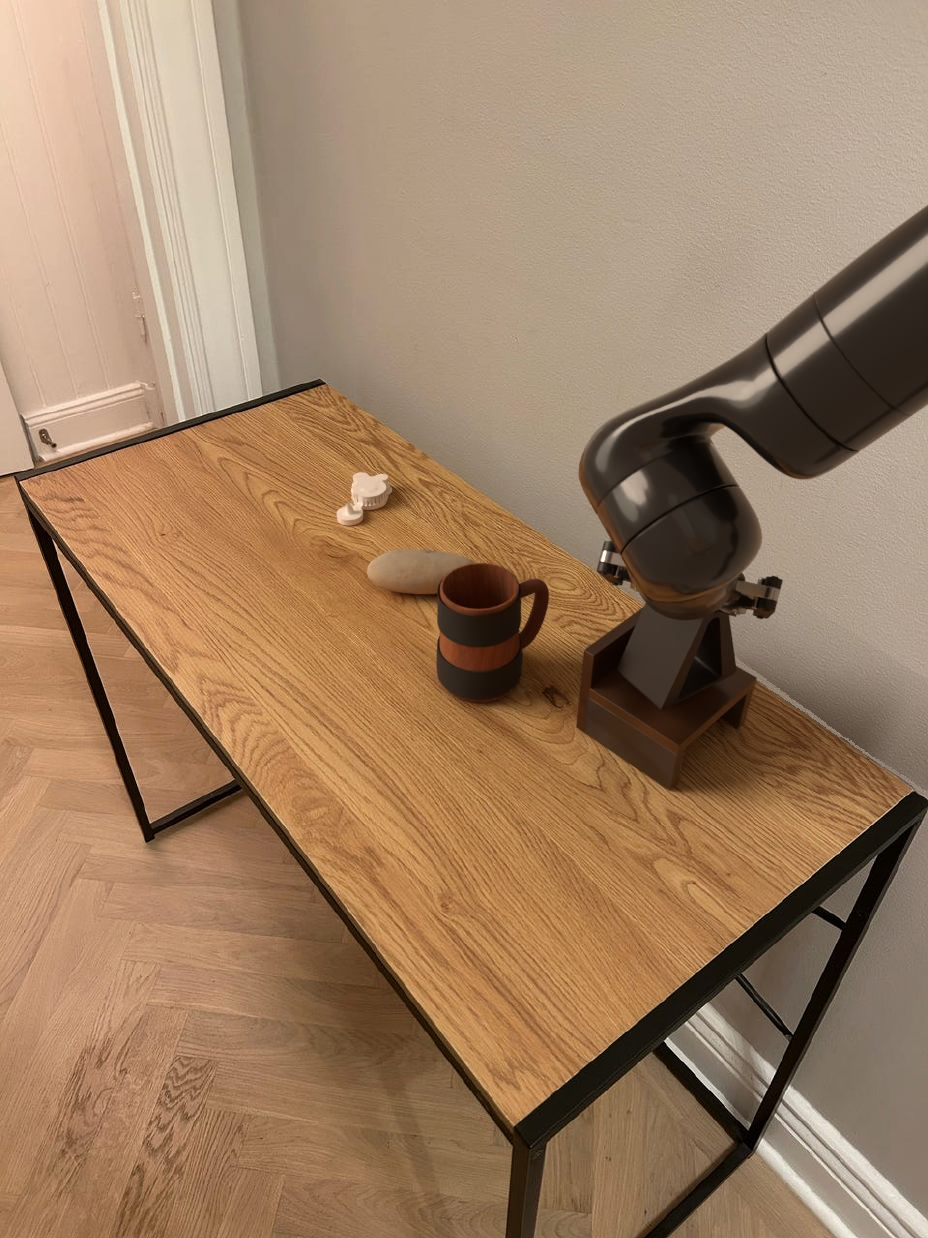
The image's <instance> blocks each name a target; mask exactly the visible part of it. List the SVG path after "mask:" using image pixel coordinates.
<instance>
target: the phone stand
mask: <svg viewBox="0 0 928 1238" xmlns="http://www.w3.org/2000/svg"><path fill="white" fill-rule="evenodd" d="M642 607H643V610H642V612H641V614H640V617H639V619H638V621H637V624H636V626H635V628H634V631H633V633H632V635H631V637H630V640H629V642H628V644H627V647H626V649H625V651H624V654H623V656H622V658H621V661H620V663H619V665H618V668H617V672H618V673H620V674H621V675H622V676H623V677H624V678H625V679H626V680H627V681H629V682H630V683H631V684H632V685H633V686H634V687H635V688H636V689H638V690H639V691H640V692H641V693H642V694H643V695H644V696H645V697H647V698H648V699H649V700H650V701H651V702H652V703H653V704H654V705H656V706H657V707H658V708H659V709H660V710H661V711H664V710H666V709H668V708H670V707H672V706H674V705H676V704H678V703H680V702H681V701H683V700H685V699H687V698H689V697H691V696H693V695H695V694H697V693H698V691H700V692H701V691H703V690H705V689H707V688H709V687H710V686H712V685H714V684H716V683H718V682H720V681H722V680H724V679H726V678H728V677H730V676H732V675H733V674H735V672H736V670H737V669H736V666H737V662H736V655H735V648H734V641H733V640H734V639H733V633H732V627H731V620H730V619H731V618H730V615H729V613H724V612H717V611H715V612H713V613H712V614H710V615H708V616H705V617H703V618H699V619H695V620H676V619H671V618H668V617H665V616H663V615H661V614H659V613H657V612H656V611H654V610H653V609H652V608H651V607H650V606H648V605H647V603H646V602H645V603H644V605H643V606H642Z"/></svg>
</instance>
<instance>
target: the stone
mask: <svg viewBox="0 0 928 1238" xmlns="http://www.w3.org/2000/svg"><path fill="white" fill-rule="evenodd" d="M472 563H475V562H474V561H473V560H472V559H471V558H469V557H466V556H464V555H460V554H457V553H452V552H447V551H439V550H431V549H416V548H415V549H414V548H402V549H401V548H400V549H392V550H388V551H386V552H384V553H382V554H380V555H379V556H377V557H375V558H374V559H372V560H371V562H370V563H369V564H368V566H367V569H366V574H367V577H368V579H369V580H370V582H371V583H372V584H373V585H375V586H376V587H378V588H381V589H384V590H387V591H390V592H391V591H392V592H395V593H402V594H413V595H434V594H435V595H437V589H438V585H439V583H440V582H441V580H442V579H443V578H444V576H445V575H446V574H447V573H449V572H450V571H452V570H453V569H455V568H457V567H460V566H463V565H466V564H472Z"/></svg>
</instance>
